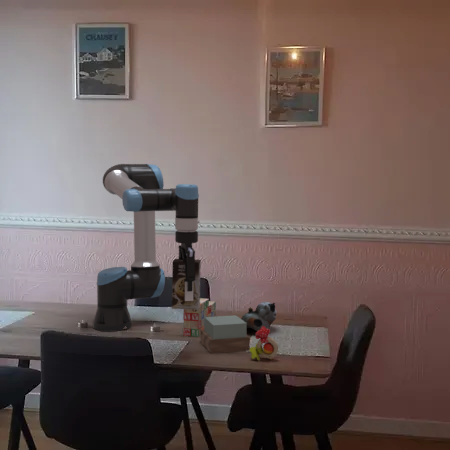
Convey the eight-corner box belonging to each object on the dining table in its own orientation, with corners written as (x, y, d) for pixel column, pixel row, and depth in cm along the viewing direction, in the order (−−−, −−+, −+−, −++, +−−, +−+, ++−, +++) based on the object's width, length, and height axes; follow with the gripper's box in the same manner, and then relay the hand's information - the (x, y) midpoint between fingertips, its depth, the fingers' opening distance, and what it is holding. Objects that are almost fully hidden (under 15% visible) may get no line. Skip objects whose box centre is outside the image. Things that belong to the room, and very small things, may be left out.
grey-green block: (204, 330, 220) (204, 317, 220) (235, 328, 224) (236, 315, 223) (213, 339, 209) (213, 325, 208) (246, 337, 212) (246, 323, 212)
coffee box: (171, 309, 202) (171, 261, 201) (173, 304, 209) (174, 258, 207) (198, 309, 202) (199, 261, 200) (200, 305, 208) (200, 258, 207)
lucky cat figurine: (240, 325, 246) (255, 294, 248) (267, 339, 243) (282, 307, 245) (236, 323, 232) (252, 290, 233) (264, 338, 229) (280, 305, 231)
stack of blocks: (201, 322, 251) (201, 293, 250) (216, 323, 249) (216, 294, 248) (183, 335, 231) (183, 303, 230) (198, 337, 229) (198, 305, 228)
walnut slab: (200, 343, 222) (200, 330, 221) (236, 340, 226) (237, 327, 226) (211, 354, 208) (211, 340, 208) (249, 351, 213) (249, 337, 212)
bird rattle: (272, 362, 205) (248, 350, 207) (285, 333, 204) (261, 321, 205) (269, 368, 199) (244, 355, 201) (283, 339, 197) (258, 326, 199)
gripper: (205, 233, 194) (204, 304, 196) (190, 227, 214) (190, 291, 216) (182, 234, 192) (181, 305, 194) (169, 227, 211) (169, 292, 214)
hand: (186, 297), depth 205 cm, fingers closed on coffee box, 8 cm apart
